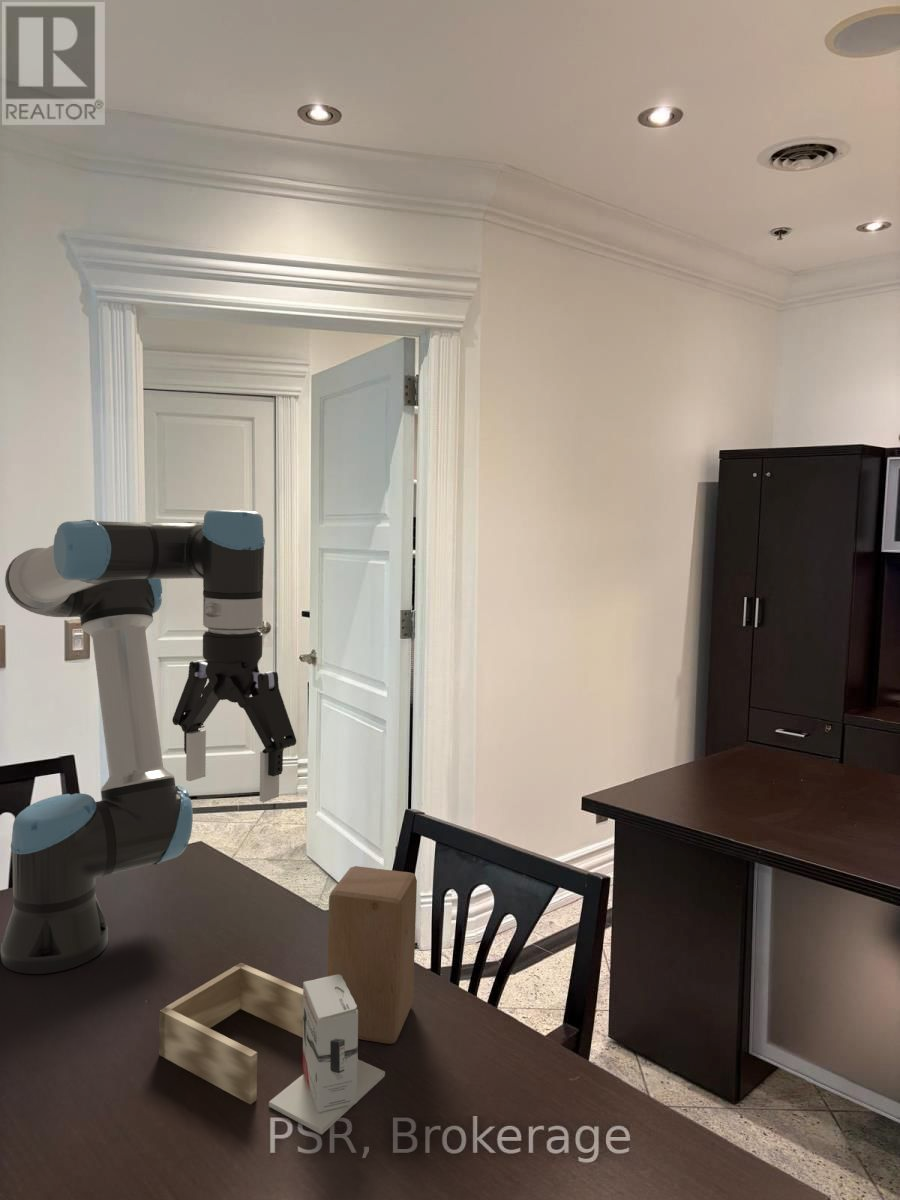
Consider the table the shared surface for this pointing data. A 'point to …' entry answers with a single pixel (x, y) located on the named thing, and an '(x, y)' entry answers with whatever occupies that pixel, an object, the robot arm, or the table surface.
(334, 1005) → the ink box
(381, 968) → the wooden block
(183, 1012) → the crate
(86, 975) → the table surface
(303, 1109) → the mat
